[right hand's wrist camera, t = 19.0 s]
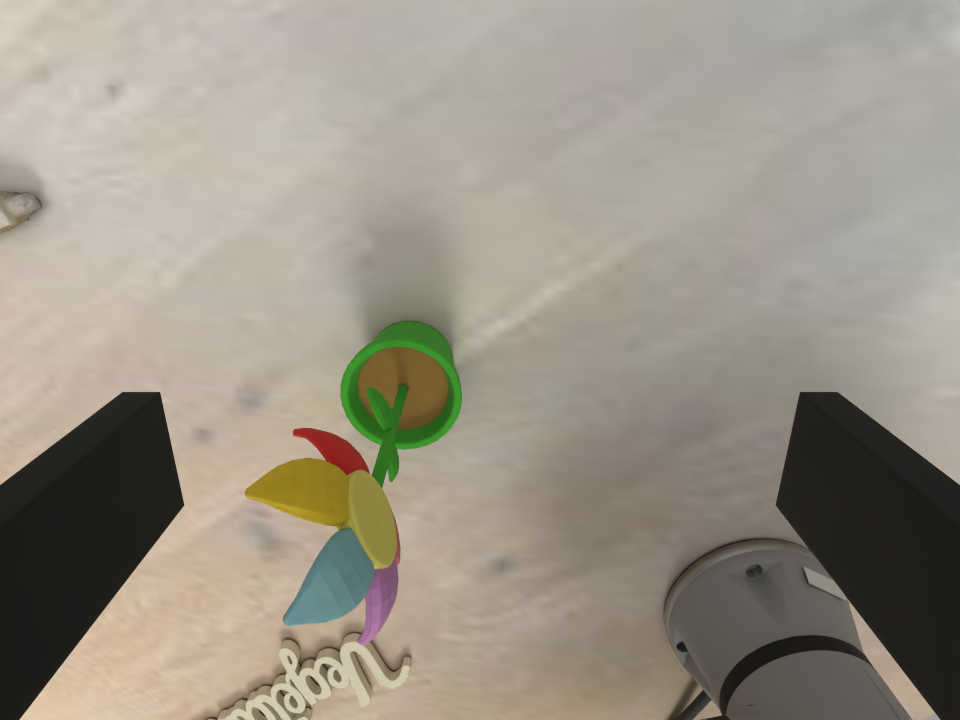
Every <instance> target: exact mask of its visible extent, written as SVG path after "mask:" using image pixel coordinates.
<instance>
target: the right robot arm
mask: <svg viewBox="0 0 960 720" xmlns="http://www.w3.org/2000/svg"><path fill="white" fill-rule="evenodd" d="M183 506H184V502H183V497H182V492H181V488H180V483H179V479H178V474H177V469H176V465H175V460H174V455H173V451H172V446H171V441H170V437H169V432H168V427H167V423H166V418H165V413H164V409H163V404H162V399H161V395H160V392H122V393H121V394H120V395H118V396H117V397H116V398H114V399H113V400H112V401H110V402H109V403H108V404H106V405H105V406H104V407H102V408H101V409H100V410H98V411H97V412H96V413H95V414H93V415H92V416H91V417H89V418H88V419H87V420H85V421H84V422H83V423H81V424H80V425H79V426H77V427H76V428H75V429H73V430H72V431H71V432H70V433H68V434H67V435H66V436H64V437H63V438H62V439H60V440H59V441H58V442H56V443H55V444H54V445H52V446H51V447H50V448H48V449H47V450H46V451H45V452H43V453H42V454H41V455H39V456H38V457H37V458H35V459H34V460H33V461H31V462H30V463H29V464H27V465H26V466H25V467H23V468H22V469H21V470H20V471H18V472H17V473H16V474H14V475H13V476H12V477H10V478H9V479H8V480H6V481H5V482H4V483H2V484H1V485H0V720H19V719H20V718H21V717H22V716H23V714H24V713H25V712H26V710H27V709H28V708H29V706H30V705H31V704H32V703H33V701H34V700H35V699H36V697H37V696H38V695H39V693H40V692H41V691H42V690H43V688H44V687H45V686H46V684H47V683H48V682H49V680H50V679H51V678H52V677H53V675H54V674H55V673H56V671H57V670H58V669H59V667H60V666H61V665H62V664H63V662H64V661H65V660H66V658H67V657H68V656H69V654H70V653H71V652H72V651H73V649H74V648H75V647H76V645H77V644H78V643H79V641H80V640H81V639H82V638H83V636H84V635H85V634H86V632H87V631H88V630H89V628H90V627H91V626H92V625H93V623H94V622H95V621H96V619H97V618H98V617H99V615H100V614H101V613H102V612H103V610H104V609H105V608H106V606H107V605H108V604H109V602H110V601H111V600H112V599H113V597H114V596H115V595H116V593H117V592H118V591H119V589H120V588H121V587H122V586H123V584H124V583H125V582H126V580H127V579H128V578H129V576H130V575H131V574H132V573H133V571H134V570H135V569H136V567H137V566H138V565H139V563H140V562H141V561H142V560H143V558H144V557H145V556H146V554H147V553H148V552H149V550H150V549H151V548H152V547H153V545H154V544H155V543H156V541H157V540H158V539H159V537H160V536H161V535H162V533H163V532H164V531H165V530H166V528H167V527H168V526H169V524H170V523H171V522H172V520H173V519H174V518H175V517H176V515H177V514H178V513H179V511H180V510H181V509H182V507H183ZM776 506H777V507H778V509H779V510H780V511H781V513H782V514H783V515H784V517H785V518H786V519H787V520H788V522H789V523H790V524H791V526H792V527H793V528H794V530H795V531H796V532H797V533H798V535H799V536H800V537H801V539H802V540H803V541H804V543H805V544H806V545H807V547H808V548H809V549H810V550H811V551H810V550H808V549H806V548H804V547H802V546H799V545H796V544H794V543H790V542H786V541H780V540H770V539H759V540H749V541H743V542H738V543H734V544H731V545H728V546H725V547H722V548H720V549H717V550H715V551H713V552H711V553H709V554H707V555H706V556H704V557H702V558H701V559H699V560H698V561H696V562H695V563H694V564H692V565H691V566H690V567H689V568H688V569H687V570H686V571H685V572H684V573H683V574H682V575H681V576H680V577H679V579H678V580H677V581H676V583H675V584H674V586H673V587H672V589H671V591H670V593H669V595H668V598H667V601H666V605H665V610H664V624H665V629H666V632H667V635H668V638H669V641H670V643H671V646H672V648H673V650H674V652H675V654H676V655H677V657H678V659H679V661H680V662H681V664H682V665H683V666H684V667H685V669H686V670H687V671H688V672H689V673H690V675H691V676H692V677H693V678H694V679H695V680H696V682H697V683H698V684H699V685H700V686H701V688H702V689H703V691H702V692H701V693H700V694H699V695H698V696H697V697H696V698H695V700H694V701H693V702H692V703H691V704H690V705H689V706H688V707H687V708H686V709H685V710H684V711H683V712H682V714H681V715H680V716H679V717H678V718H677V719H676V720H693V719H694V718H695V717H696V715H697V714H698V713H699V712H700V711H701V710H702V709H703V708H704V707H705V706H706V705H707V704H708V703H709V702H710V701H711V700H712V701H713V702H714V703H715V704H716V705H717V707H718V708H719V709H720V711H721V714H722V716H718V717H713V718H708V719H701V720H912V719H911V717H910V716H909V715H908V713H907V712H906V711H905V709H904V708H903V706H902V705H901V704H900V702H899V701H898V700H897V698H896V697H895V696H894V694H893V693H892V691H891V690H890V689H889V687H888V686H887V685H886V683H885V682H884V680H883V679H882V678H881V676H880V675H879V674H878V672H877V671H876V670H875V668H874V667H873V666H872V664H871V663H870V661H869V660H868V659H867V657H866V656H865V654H864V653H863V651H862V647H861V644H860V640H859V637H858V633H857V630H856V626H855V623H854V620H853V617H852V614H851V610H850V607H849V603H848V600H849V601H850V602H851V604H852V605H853V606H854V608H855V609H856V610H857V612H858V613H859V614H860V615H861V617H862V618H863V619H864V621H865V622H866V623H867V625H868V626H869V627H870V628H871V630H872V631H873V632H874V634H875V635H876V636H877V638H878V639H879V640H880V641H881V643H882V644H883V645H884V647H885V648H886V649H887V651H888V652H889V653H890V654H891V656H892V657H893V658H894V660H895V661H896V662H897V664H898V665H899V666H900V667H901V669H902V670H903V671H904V673H905V674H906V675H907V677H908V678H909V679H910V680H911V682H912V683H913V684H914V686H915V687H916V688H917V690H918V691H919V692H920V693H921V695H922V696H923V697H924V699H925V700H926V701H927V703H928V704H929V705H930V706H931V708H932V709H933V710H934V712H935V713H936V714H937V716H938V717H939V718H940V719H941V720H960V485H959V484H958V483H956V482H955V481H954V480H952V479H951V478H950V477H948V476H947V475H946V474H944V473H943V472H942V471H940V470H939V469H938V468H937V467H935V466H934V465H933V464H931V463H930V462H929V461H927V460H926V459H925V458H923V457H922V456H921V455H919V454H918V453H917V452H915V451H914V450H913V449H912V448H910V447H909V446H908V445H906V444H905V443H904V442H902V441H901V440H900V439H898V438H897V437H896V436H894V435H893V434H892V433H890V432H889V431H888V430H887V429H885V428H884V427H883V426H881V425H880V424H879V423H877V422H876V421H875V420H873V419H872V418H871V417H869V416H868V415H867V414H865V413H864V412H863V411H862V410H860V409H859V408H858V407H856V406H855V405H854V404H852V403H851V402H850V401H848V400H847V399H846V398H844V397H843V396H842V395H840V394H839V393H838V392H800V395H799V399H798V404H797V409H796V413H795V418H794V423H793V427H792V432H791V437H790V441H789V446H788V451H787V455H786V460H785V465H784V469H783V474H782V479H781V483H780V488H779V492H778V497H777V502H776ZM847 599H848V600H847Z"/></svg>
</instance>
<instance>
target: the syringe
mask: <svg viewBox="0 0 960 720" xmlns="http://www.w3.org/2000/svg"><path fill="white" fill-rule="evenodd" d="M41 207H42V204H41V201H40V200H39V199H38V198H37V197H36V196H34V195H33V194H31V193H22V194H19V193H17V192H5V191H0V233H2V232H4V231H8V230H10V229H12V228H14V227H15V226H17V225H19V224H20V223H22V222H23V221H26V220H29V219H28V218H29V216H30V215H31V214H32V213H34V212H36V211H38V210H39V209H41Z"/></svg>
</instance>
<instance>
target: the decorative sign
mask: <svg viewBox="0 0 960 720" xmlns="http://www.w3.org/2000/svg"><path fill="white" fill-rule="evenodd" d="M360 635H361V634H357V633H352V634H349V635H347V636H346V637H345V638H344V640H343V642H342V646H341V650H340V652H338V651H337V650H334V649H331V648H327V649H323V650H321V651H320V652H319V653H318V655H317V658H316V661H315V660H312V659H308V660H306V661H305V662H304V663H303V664H302V667H300V665H299V664H298V661H299V658H300V649H299V647H298V645H297V644H296V643H295V642H293V641H291V640H284V641H283V643H282V645H281V648H280V651H279V658H280V660H281V662H282V664H283V666H284V668H285V670H286V671H287V673H286V674H284V675H280V676H278V677H277V678H276V679H275V681H274V683H273V686H272V687H270V686H262V687H260V688H259V689H258V690H257V691H253V692H251V693H250V695H249V697H248V700H247V701H246V700H239V701H237V702H236V704H235V705H234V706H233V707H230V709H226V710H222V711H221V712H220V714H219V717H218V719H217V720H279V718H280V717H281V718H282V719H283V720H311V716H312V711H311V710H310V709H309V708H305V707H306V703H307V701H308V702H309V703H310V704H311V705H313V704H315V703H317V702H318V699H326V698H328V697H329V696H330V695H331V691H332V687H336V688H345V687H347V685H348V683H349V680H350V682H351V685H352V687H353V689H354V692H355V694H356V696H357V698H358V700H359V704H360V707H365V706H367V705H368V704H369V702H370V697H371V692H372V691H371V687H370V685H369V683H368V681H367V679H366V677H365V675H364V673H363V672H362V670H361V668H360V665H359V663H358V661H357V659H356V656H355V653H354V651H355V652H357V653H359V654H360V655H361V656H362V658H363V659H364V660H365V662H366V663H367V665H368V666H369V668H370V670H371V671H372V673H373V674H374V676H375V677H376V679H377V680H378V681H379V683H380V684H381V685H383V686H384V687H386V688H389V689H394V688H397V687H399V686H400V685H401V684H402V683H403V682H404V681H405V680H406V678H407V676H408V674H409V671H410V665H411V658H410V657H404V659H403V662H402V665H401V667H400V669H399V670H398V671H396V672H392V671H390V670H389V669H388V668H387V667H386V666H385V664H384V662H383V661H382V659H381V657H380V656H379V654H378V653H377V651H376V650H375V648H374V647H373V645H372V644H371V642H368V643H366V644H363V645H360V644H359V643H358V642H357V639H358V638H359V636H360ZM323 663H326V664H329V665H330V666H329V669H328V671H327V670H326V669H325V668H324V666H322V664H323ZM310 676H312V677H313V678H314V679H315V680H316V681H317V682H318V683H319V685H320V686H318V685H316V684H315V683H314V682H313V681H312V679H311V677H310ZM279 690H285V691H286V694H285V697H284V696H283V695H282V694H281V693H280V691H279ZM257 708H258V709H259V710H261V711H262V712H263V713H264V714H265V716H266V717H264V716H263V715H262V714H261V713H260V711H259V710H258V709H257ZM207 720H215V719H207Z"/></svg>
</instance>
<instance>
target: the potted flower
mask: <svg viewBox="0 0 960 720" xmlns="http://www.w3.org/2000/svg"><path fill="white" fill-rule="evenodd" d="M341 400H342V405H343V409H344V411H345V413H346V415H347V418H348V419H349V420H350V422H351V423H352V425H353V426H354V427H355V428H356V429H357V430H358V431H359V432H360V433H361V434H362V435H363V436H365V437H366V438H368V439H369V440H371V441H373V442H375V443H377V444H379V445H381V447H380V450H379V454H378V457H377V460H376V464H375V467H374V470H373V473H372V475H371V474H370V473H369V470H368V467H367V465H366V463H365V461H364V460H363V458H362V456H361V455H360V453H359V452H358V451H357V450H356V449H355V448H354V447H353V446H352V445H351V444H350V443H349V442H348V441H346V440H344V439H342V438H340V437H339V436H337V435H334V434H332V433H329V432H325V431H321V430H317V429H312V428H300V429H294V431H293V436H297V437H302V438H306V439H307V440H309V441H310V442H311V443H312V444H313V445H314V446H315V447H316V448H317V449H318V450H319V451H320V453H321V454H322V455H323V457H324V458H325V460H326V461H325V460H319V459H312V458H304V459H298V460H292V461H289V462H287V463H284V464H282V465H280V466H277V467H276V468H274V469H273V470H271V471H270V472H268V473H267V474H265V475H264V476H263V477H261V478H260V479H259V480H258V481H256V482H255V483H254V484H252V485H251V486H250V487H249V488H247V489H246V491H245V496H246V497H247V498H249V499H252V500H256V501H259V502H262V503H265V504H267V505H269V506H272V507H274V508H276V509H278V510H281V511H283V512H285V513H288V514H290V515H293V516H296V517H299V518H302V519H305V520H308V521H311V522H315V523H318V524H322V525H326V526H337V529H338V532H336V533H335V534H334V535H333V536H332V537H331V538H330V539H329V540H328V542H327V543H326V544H325V546H324V547H323V549H322V550H321V552H320V553H319V555H318V556H317V558H316V560H315V561H314V563H313V565H312V567H311V568H310V570H309V572H308V574H307V576H306V578H305V580H304V582H303V584H302V586H301V588H300V590H299V592H298V594H297V596H296V598H295V599H294V601H293V603H292V604H291V606H290V607H289V609H288V610H287V612H286V613H285V615H284V617H283V621H284V624H285V625H287V626H292V625H304V624H315V623H325V622H328V621H331V620H334V619H337V618H340V617H343V616H344V615H346V614H347V613H349V612H350V611H352V610H353V609H355V608H356V607H357V606H358V605H359V603H360V602H361V601H362V600H363V599H364V597H365V598H366V620H365V628H364V631H363V632H362V633H361V635H360V636H359V638H358V639H357V642H358V643H359V644H360V645H363V644H366V643H368V642H370V641H371V640H373V639H374V638H375V636H376V635H377V633H378V632H379V631H380V629H381V628H382V627H383V625H384V623H385V622H386V620H387V618H388V616H389V614H390V612H391V609H392V607H393V605H394V602H395V600H396V595H397V588H398V570H397V565H398V564H399V562H400V542H399V534H398V529H397V525H396V520H395V518H394V515H393V512H392V510H391V507H390V505H389V502H388V500H387V498H386V495H385V493H384V491H383V490H382V486H383V483H384V479H385V475H386V471H387V469H388V473H389V481H390V482H392V481H393V480H394V478H395V477H396V475H397V473H398V469H399V457H398V453H397V449H414V448H419V447H422V446H426V445H428V444H430V443H433V442H435V441H437V440H438V439H439V438H441V437H442V436H443V435H445V434H446V433H447V432H448V430H449V429H450V428H451V427H452V426H453V424H454V423H455V421H456V419H457V417H458V415H459V411H460V408H461V401H462V392H461V385H460V380H459V376H458V374H457V371H456V368H455V367H454V362H453V355H452V351H451V348H450V346H449V344H448V342H447V341H446V339H445V338H444V337H443V336H442V334H441V333H440V332H438V331H437V330H436V329H434V328H433V327H431V326H429V325H427V324H424V323H420V322H414V321H405V322H399V323H396V324H393V325H391V326H389V327H387V328H386V329H384V330H383V331H382V332H381V333H380V334H379V335H378V336H377V337H376V338H375V339H374V340H373V342H372V343H370V344H368V345H367V346H365V347H364V348H363V349H362V350H361V351H359V353H358V354H357V355H356V356H355V357H354V358H353V360H352V361H351V362H350V363H349V365H348V366H347V369H346V371H345V373H344V375H343V379H342V383H341Z"/></svg>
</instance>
